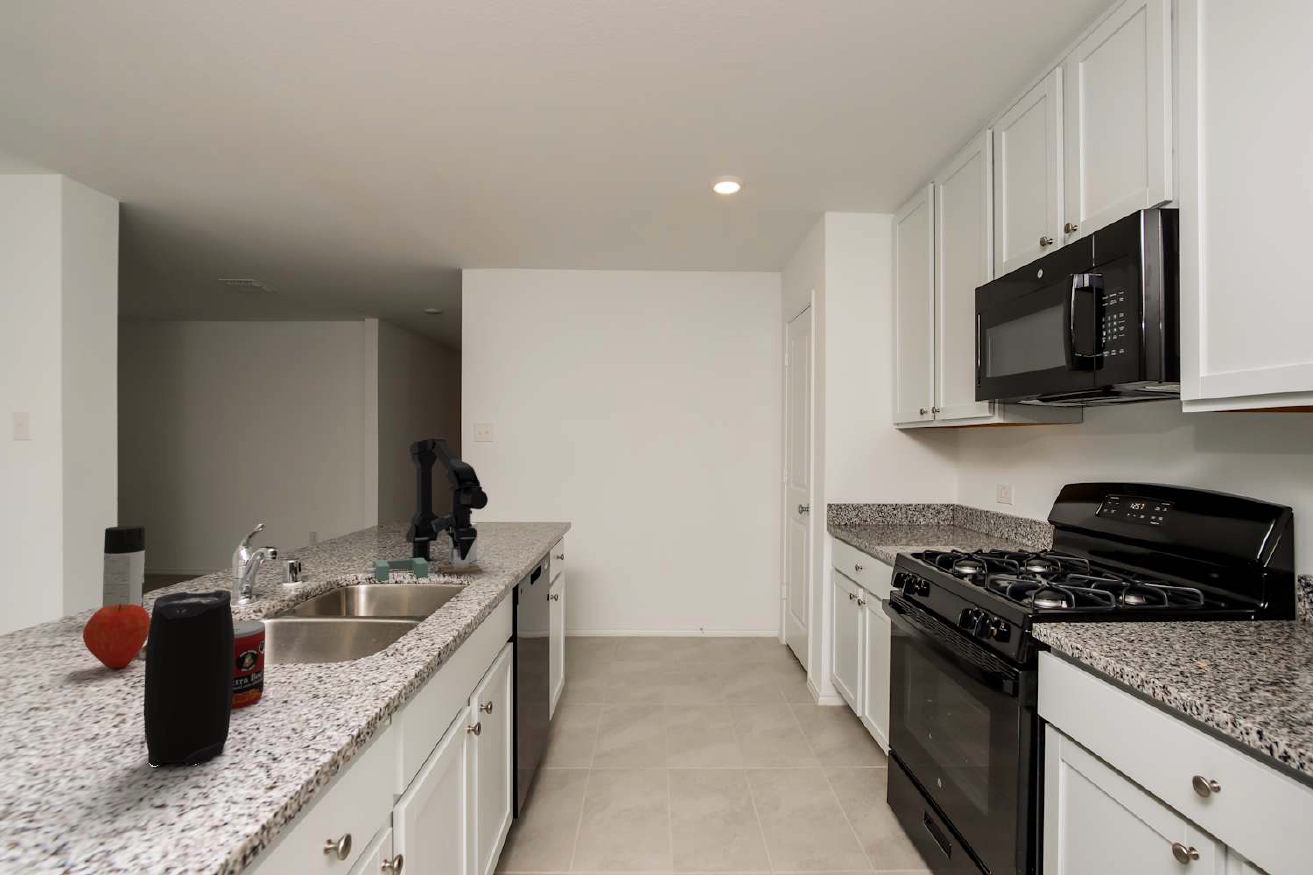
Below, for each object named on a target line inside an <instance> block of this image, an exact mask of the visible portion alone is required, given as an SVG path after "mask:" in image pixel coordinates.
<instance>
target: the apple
mask: <svg viewBox="0 0 1313 875" xmlns="http://www.w3.org/2000/svg"><path fill="white" fill-rule="evenodd" d="M150 622H151V618H150V615H149V612H148V611H147V609H145V608H144V606H143V607H141V606H138V605H128V604H126V605H121V604H120V605H118V606H110V607H104V608H100V609H98V610H97V611H95V612H94V613H93V614H92V616H91V617H90V618H89V619H88V620H87V623H86V625H85V626H84V628H83V634H82V639H83V642H84V645H85V647H86V648H87V650H88V651H89V652H90V653H91V654H92V656H94V657H95V658H96V659H97V661H100V663H101V664H102V665H103V666H105V667H106V668H110V669H111V668H112V669H121V668H127V667H128V666H129V664H131V662H132V661H133V660H134V659H135V657H136V656H137V655H139V652H140V651H141V650H142V649H143V646H144V644H145V643H146V642H147V639H148V634H149V628H150Z"/></svg>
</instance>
